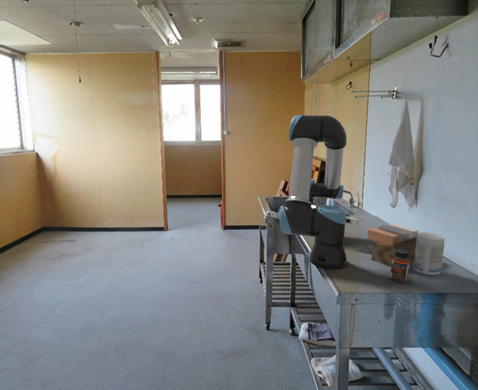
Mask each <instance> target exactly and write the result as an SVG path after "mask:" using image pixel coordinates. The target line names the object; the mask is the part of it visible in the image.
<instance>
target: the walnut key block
mask: <svg viewBox="0 0 478 390" xmlns="http://www.w3.org/2000/svg"><path fill="white" fill-rule="evenodd" d="M416 241H417V237H414V238H410V239H407V240H403V241H400V242H396V243H395V245H394V246H390V245H387V244H384V243H381V242H378V241H375V240H373V242H372V243H373V244H372V251H371V260H372V261H374V262H376V263H379V264H381V265H385V266H386V267H390V268H391V264H392V257H393V255H395V254H396V250H397V249H402V250H406V251H408V257H409V258H410V263H414V259H415V250H416Z"/></svg>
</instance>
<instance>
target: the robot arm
mask: <svg viewBox="0 0 478 390" xmlns="http://www.w3.org/2000/svg"><path fill="white" fill-rule="evenodd" d="M347 139H348V137H347V133H346V130H345V127H344V126H343V125H342V123H341V122H340V121H339V120H338V119H337V118H336V117H334V116H331V115H326V114H325V115H315V114H313V115H311V114H309V115H307V114H306V115H305V114H301V115H299V114H298V115H294V116H293V117H292V119H291V121H290V125H289V129H288V141H289V142H290V144H291V146H292V147H293V155H292V165H291V172H290V173H291V175H290V181H289V182H290V183H289V190H288V198H287V199H286V200H285V201H284V203H283V205H280V206H279V227H280V231H281V232H282V233H283V234H286V235H291V236H293V235H295V236H304V237H313V238H314V243H313V246H312V248H311V250H310V253H309V257H308V261H309V263H310V264H312V265H313V266H315V267H318V268H322V269H329V270H337V269H343V268H345V267H346V266H347V263H348V261H347V260H348V259H347V255H346V250H345V245H344V244H345V243H344V242H345V231H346V230H345V229H346V225H347V224H349V225H352V226H355V227H357V226H359V222H360V219H359V218H354V217H351V216H350V215H349V214H346V212H345V211H344V210H343V209H341V208H339V207H336V206H333V205H329V204H320V203H316V202H314V201H315V198H316V199H317V198H318V199H319V198H320V199H321V198H322V199H329V200H330V199H331V200H341V199H343V197H344V185H343V184H341V179H342V178H341V177H342V168H343V158H344V148H345V147H346V146H347ZM319 143H324V146H325V147H326V151H325V152H326V154H325V173H324V174H325V175H324V183H320V182H318V183H317V182H316V180H315V178H312V171H313V161H314V151H315V149H316V148H317V147H318V144H319Z"/></svg>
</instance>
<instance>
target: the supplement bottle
mask: <svg viewBox="0 0 478 390" xmlns="http://www.w3.org/2000/svg"><path fill="white" fill-rule="evenodd" d="M409 270H410V258H409V257H408V251H406V250H402V249H397V250H396V254H395V255H393V257H392V264H391V267H390V272H389V278H390V279H391V280H392V281H394V282H397V283H406V282H407V281H408V277H409V272H410V271H409Z"/></svg>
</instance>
